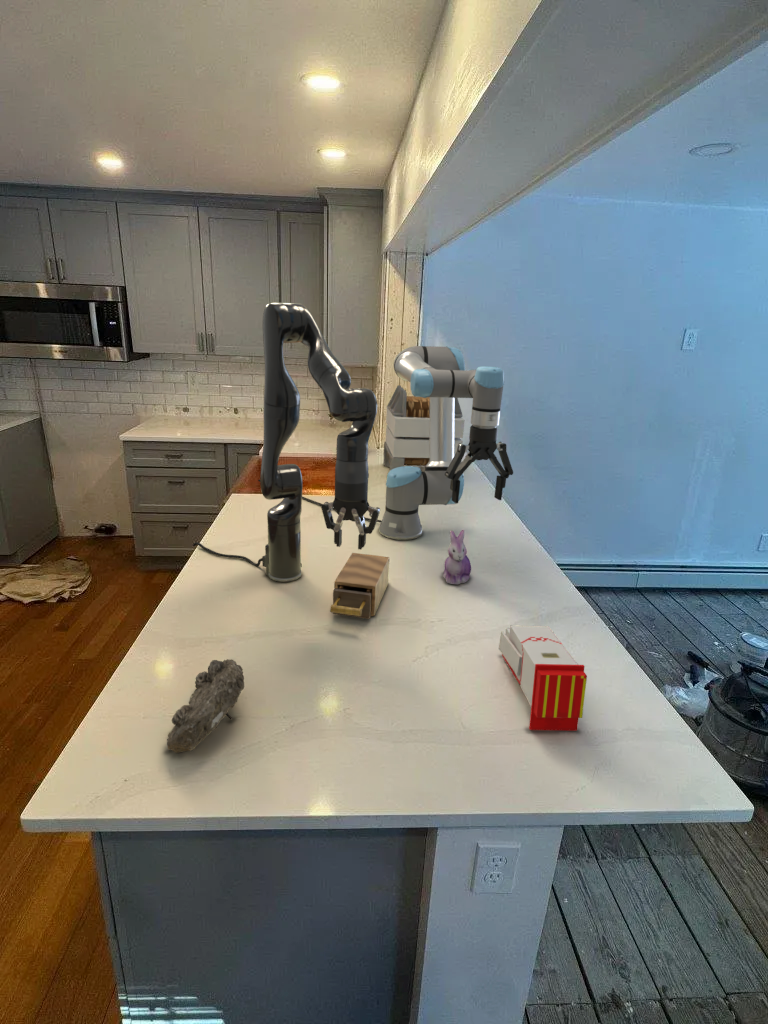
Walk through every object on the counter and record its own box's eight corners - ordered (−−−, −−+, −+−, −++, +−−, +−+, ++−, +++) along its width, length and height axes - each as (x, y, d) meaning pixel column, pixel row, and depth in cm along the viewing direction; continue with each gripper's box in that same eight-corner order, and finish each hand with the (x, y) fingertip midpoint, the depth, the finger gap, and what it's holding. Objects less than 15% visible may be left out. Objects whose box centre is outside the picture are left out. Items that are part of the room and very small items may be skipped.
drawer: (363, 631, 137) (364, 607, 135) (325, 625, 139) (326, 601, 137) (383, 587, 159) (384, 566, 157) (350, 583, 161) (350, 562, 158)
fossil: (192, 660, 117) (244, 628, 112) (224, 691, 120) (276, 661, 115) (142, 746, 98) (202, 712, 93) (182, 779, 101) (242, 748, 96)
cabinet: (374, 616, 146) (375, 586, 143) (334, 610, 148) (334, 581, 145) (388, 584, 163) (389, 557, 160) (351, 579, 165) (352, 552, 162)
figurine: (453, 588, 162) (457, 540, 157) (434, 573, 170) (437, 527, 165) (479, 582, 166) (485, 535, 161) (459, 568, 175) (464, 523, 170)
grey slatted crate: (382, 463, 289) (386, 382, 275) (445, 464, 293) (451, 384, 279) (390, 482, 257) (394, 392, 243) (460, 483, 261) (468, 394, 247)
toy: (545, 610, 133) (596, 671, 104) (540, 662, 136) (588, 737, 106) (494, 609, 133) (530, 670, 103) (490, 662, 135) (524, 736, 106)
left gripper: (316, 479, 126) (316, 549, 132) (379, 485, 124) (376, 556, 129) (326, 470, 133) (325, 537, 139) (385, 476, 131) (382, 544, 136)
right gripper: (448, 430, 146) (441, 507, 153) (531, 427, 154) (521, 501, 161) (436, 424, 153) (430, 498, 160) (517, 422, 160) (508, 493, 168)
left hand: (349, 546), depth 134 cm, fingers open, 4 cm apart
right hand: (476, 500), depth 160 cm, fingers open, 13 cm apart
